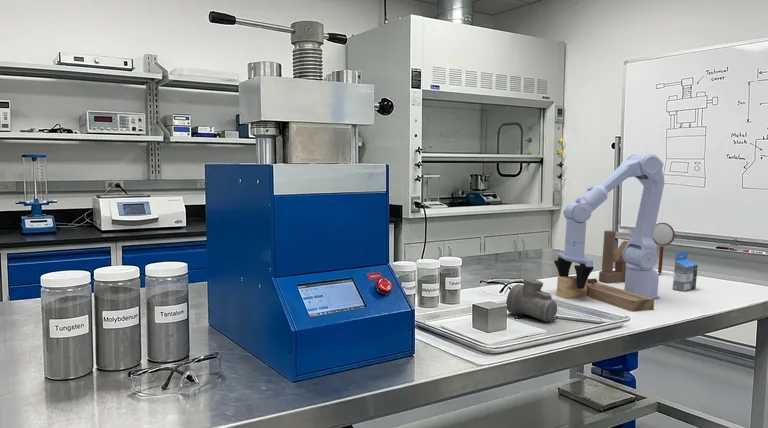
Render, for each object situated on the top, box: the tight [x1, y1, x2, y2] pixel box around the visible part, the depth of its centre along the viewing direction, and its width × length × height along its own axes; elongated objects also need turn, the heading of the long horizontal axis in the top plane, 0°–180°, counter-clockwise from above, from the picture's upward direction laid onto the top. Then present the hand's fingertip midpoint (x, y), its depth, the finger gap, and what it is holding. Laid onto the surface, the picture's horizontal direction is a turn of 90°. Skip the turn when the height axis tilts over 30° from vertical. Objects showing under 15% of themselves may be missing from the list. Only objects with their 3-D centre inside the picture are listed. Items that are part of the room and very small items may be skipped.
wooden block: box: [598, 230, 628, 284], centre depth 196 cm, size 4×11×18 cm, turn 113°
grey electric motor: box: [505, 277, 558, 323], centre depth 146 cm, size 12×8×10 cm
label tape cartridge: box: [672, 251, 698, 292], centre depth 187 cm, size 9×4×12 cm, turn 128°
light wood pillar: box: [556, 275, 598, 300], centre depth 173 cm, size 13×4×6 cm, turn 111°
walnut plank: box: [586, 281, 655, 312], centre depth 169 cm, size 8×24×3 cm, turn 21°
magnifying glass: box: [653, 222, 676, 275], centre depth 211 cm, size 9×2×20 cm, turn 35°
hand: (571, 285), depth 172 cm, fingers open, 7 cm apart
